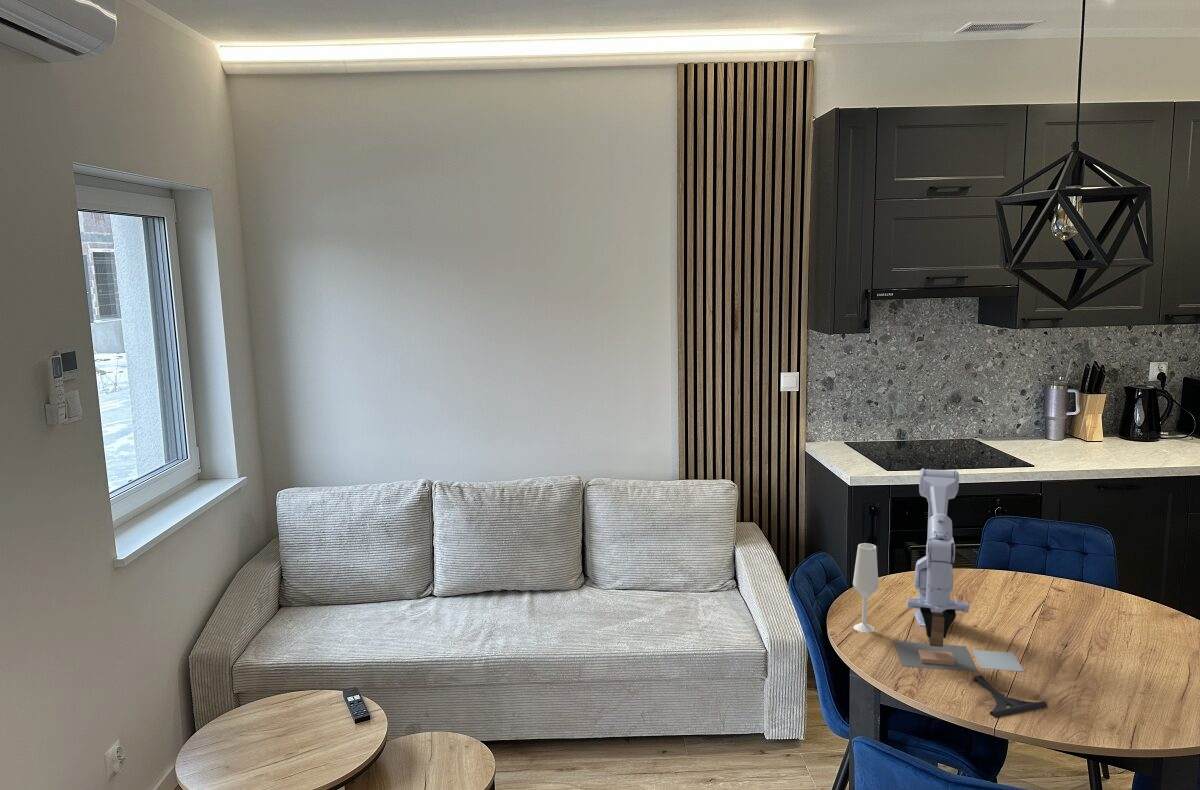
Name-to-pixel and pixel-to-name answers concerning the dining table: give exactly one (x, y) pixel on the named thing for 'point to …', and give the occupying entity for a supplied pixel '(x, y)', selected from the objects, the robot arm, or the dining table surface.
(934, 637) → the walnut stick
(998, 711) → the bracket
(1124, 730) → the dining table surface
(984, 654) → the rest pad
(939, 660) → the tile
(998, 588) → the dining table surface
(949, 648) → the slate mat
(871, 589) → the champagne flute
